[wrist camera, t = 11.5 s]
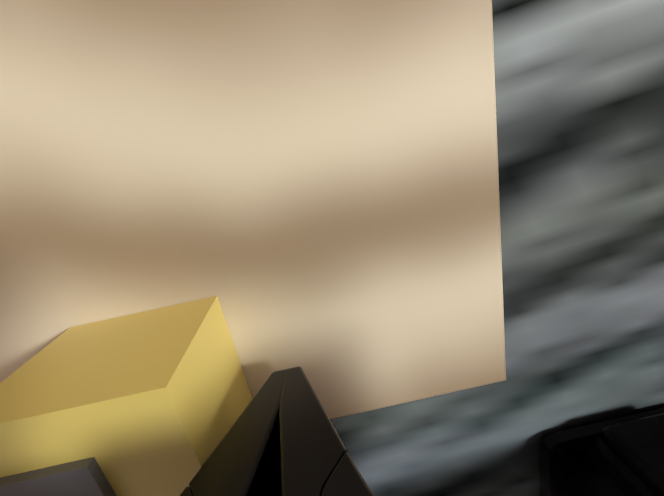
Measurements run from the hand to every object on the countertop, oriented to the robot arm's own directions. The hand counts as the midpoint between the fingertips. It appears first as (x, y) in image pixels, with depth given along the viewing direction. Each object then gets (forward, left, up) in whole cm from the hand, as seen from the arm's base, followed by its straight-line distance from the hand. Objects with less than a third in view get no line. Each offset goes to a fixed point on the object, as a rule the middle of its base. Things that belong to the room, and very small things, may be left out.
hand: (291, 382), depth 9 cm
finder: (0, +4, -1) cm, 4 cm away
